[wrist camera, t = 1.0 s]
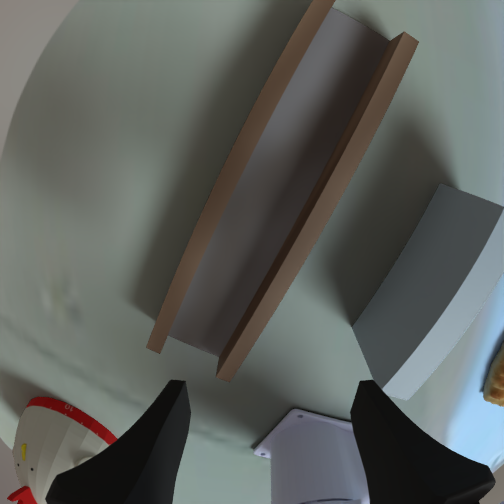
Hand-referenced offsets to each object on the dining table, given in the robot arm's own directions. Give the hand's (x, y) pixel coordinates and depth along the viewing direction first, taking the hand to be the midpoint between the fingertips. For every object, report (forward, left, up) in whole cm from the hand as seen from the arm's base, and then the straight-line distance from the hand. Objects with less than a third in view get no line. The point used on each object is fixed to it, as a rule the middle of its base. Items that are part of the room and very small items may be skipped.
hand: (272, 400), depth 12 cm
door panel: (-8, -6, -10) cm, 14 cm away
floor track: (+3, -6, -10) cm, 12 cm away
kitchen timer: (+11, +29, -10) cm, 32 cm away
